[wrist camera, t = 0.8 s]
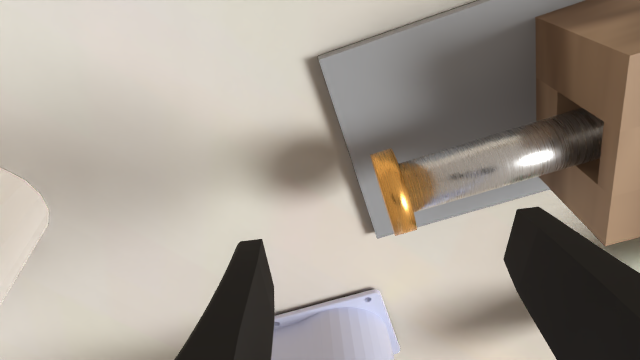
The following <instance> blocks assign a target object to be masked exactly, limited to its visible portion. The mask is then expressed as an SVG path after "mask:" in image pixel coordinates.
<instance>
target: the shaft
mask: <svg viewBox="0 0 640 360" xmlns="http://www.w3.org/2000/svg"><path fill="white" fill-rule="evenodd" d="M603 126H604V122H603V121H602V120H600V119H599V118H597V117H596V116H594V115H593V114H591V113H590V112H588V111H587V110H585V109H584V108H579V109H575V110H572V111H569V112H565V113H562V114H559V115H556V116H552V117H549V118H546V119H543V120H539V121H536V122H533V123H530V124H526V125H523V126H520V127H516V128H513V129H510V130H507V131H503V132H500V133H497V134H494V135H490V136H487V137H484V138H481V139H477V140H474V141H471V142H467V143H464V144H461V145H458V146H454V147H451V148H448V149H445V150H441V151H438V152H435V153H432V154H428V155H425V156H422V157H418V158H415V159H412V160H409V161H405V162H402V163H399V164H398V162H397V159H396V157H395V155H394V152H393V150H392V149H391V148H390V149H387V150H383V151H380V152H377V153H374V154H371V155H370V157H371V161H372V164H373V168H374V171H375V175H376V178H377V181H378V185H379V188H380V191H381V194H382V198H383V201H384V204H385V207H386V210H387V213H388V216H389V219H390V222H391V225H392V228H393V231H394V234H395V236H397V235H400V234H404V233H407V232H411V231H414V230H417V226H416V220H415V216H414V212H417V211H420V210H424V209H427V208H431V207H434V206H438V205H441V204H445V203H448V202H451V201H455V200H458V199H462V198H465V197H469V196H472V195H476V194H479V193H483V192H486V191H489V190H493V189H496V188H500V187H503V186H507V185H510V184H514V183H517V182H520V181H524V180H527V179H531V178H534V177H538V176H541V175H545V174H548V173H552V172H555V171H558V170H562V169H565V168H569V167H572V166H576V165H579V164H583V163H586V162H590V161H593V160H596V159H600V156H601V146H602V136H603Z"/></svg>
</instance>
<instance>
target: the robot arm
mask: <svg viewBox="0 0 640 360" xmlns="http://www.w3.org/2000/svg"><path fill="white" fill-rule="evenodd" d="M504 262H505V264H506V267H507V269H508V272H509V274H510V277H511V279H512V281H513V283H514V286H515V288H516V290H517V292H518V294H519V296H520V298H521V299H522V301H523V303H524V305H525V306H526V308H527V310H528V312H529V313H530V315H531V317H532V318H533V320H534V322H535V323H536V325H537V327H538V329H539V330H540V332H541V334H542V335H543V337H544V339H545V340H546V342H547V344H548V345H549V347H550V349H551V351H552V352H553V354H554V356H555V357H556V359H557V360H640V273H639V272H637V271H635V270H634V269H632V268H631V267H629V266H627V265H626V264H624V263H623V262H621V261H619V260H618V259H616V258H615V257H613V256H612V255H610V254H609V253H607V252H606V251H604V250H603V249H601V248H600V247H598V246H597V245H595V244H594V243H592V242H591V241H589V240H588V239H586V238H585V237H583V236H582V235H580V234H579V233H577V232H576V231H574V230H573V229H571V228H570V227H568V226H567V225H566V224H564V223H563V222H561V221H560V220H558V219H557V218H555V217H554V216H552V215H551V214H549V213H548V212H546V211H544V210H543V209H541V208H540V207H533V208H524V209H517V211H516V215H515V219H514V222H513V226H512V230H511V233H510V237H509V241H508V244H507V248H506V252H505V256H504ZM367 297H368V298H367ZM399 351H400V346H399V343H398V340H397V337H396V335H395V332H394V329H393V326H392V323H391V321H390V318H389V315H388V312H387V310H386V307H385V304H384V301H383V298H382V296H381V293H380V291H379V290H376V289H373V290H369V291H365V292H361V293H358V294H354V295H350V296H347V297H343V298H339V299H335V300H332V301H328V302H324V303H321V304H317V305H313V306H309V307H306V308H302V309H298V310H295V311H291V312H287V313H284V314H280V315H276V316H274V285H273V281H272V277H271V273H270V269H269V265H268V261H267V257H266V253H265V249H264V245H263V241H262V239H258V240H249V241H241V242H240V243H239V244H238V245H237V247H236V249H235V252H234V254H233V256H232V259H231V261H230V263H229V265H228V267H227V270H226V272H225V274H224V276H223V278H222V280H221V282H220V284H219V286H218V288H217V290H216V291H215V293H214V295H213V297H212V299H211V301H210V303H209V305H208V306H207V308H206V310H205V312H204V314H203V315H202V317H201V319H200V320H199V322H198V324H197V325H196V327H195V328H194V330H193V332H192V333H191V335H190V337H189V338H188V340H187V342H186V343H185V345H184V346H183V348H182V349H181V351H180V352H179V354H178V355H177V357H176V358H175V360H395V359H394V355H393V354H397V353H398V352H399Z"/></svg>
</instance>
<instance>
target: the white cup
mask: <svg viewBox="0 0 640 360" xmlns="http://www.w3.org/2000/svg"><path fill="white" fill-rule="evenodd" d="M48 224H49V209H48V207H47V205H46V203H45V201H44V200H43V198H42V196H41V194H40V193H39V192H38V191H36V190H35V189H34V188H33V187H32V186H31V185H30V184H29V183H28V182H27V181H26V180H24V179H22V178H20V177H18V176H16V175H14V174H13V173H11V172H9V171H7V170H5V169H2V168H0V305H1V303H2V302H3V300H4V298H5V297H6V295H7V293H8V292H9V290H10V288H11V287H12V285H13V283H14V281H15V280H16V278H17V276H18V275H19V273H20V271H21V270H22V268H23V266H24V265H25V263H26V261H27V260H28V258H29V256H30V254H31V253H32V251H33V249H34V248H35V246H36V244H37V243H38V241H39V239H40V238H41V236H42V234H43V233H44V231H45V229H46V227H47V226H48Z"/></svg>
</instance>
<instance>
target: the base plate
mask: <svg viewBox="0 0 640 360" xmlns="http://www.w3.org/2000/svg"><path fill="white" fill-rule="evenodd" d="M582 1H585V0H478V1H475V2H472V3H469V4H466V5H464V6H461V7H458V8H455V9H452V10H449V11H446V12H443V13H441V14H438V15H435V16H432V17H429V18H426V19H423V20H420V21H418V22H415V23H412V24H409V25H406V26H403V27H400V28H397V29H394V30H392V31H389V32H386V33H383V34H380V35H377V36H374V37H371V38H369V39H366V40H363V41H360V42H357V43H354V44H351V45H348V46H346V47H343V48H340V49H337V50H334V51H331V52H328V53H325V54H323V55H320V56H318V60H319V63H320V66H321V69H322V72H323V75H324V78H325V81H326V84H327V87H328V90H329V93H330V96H331V99H332V103H333V106H334V109H335V112H336V115H337V118H338V121H339V124H340V127H341V130H342V133H343V136H344V139H345V142H346V145H347V148H348V151H349V154H350V157H351V160H352V164H353V167H354V170H355V173H356V176H357V179H358V182H359V185H360V188H361V191H362V194H363V197H364V200H365V203H366V206H367V209H368V212H369V215H370V218H371V221H372V224H373V228H374V231H375V234H376V237H377V239H378V238H381V237H385V236H388V235H392V234H394V231H393V228H392V225H391V222H390V219H389V216H388V213H387V210H386V207H385V204H384V201H383V198H382V194H381V191H380V188H379V185H378V181H377V178H376V175H375V171H374V168H373V164H372V161H371V157H370V155H371V154H374V153H377V152H380V151H383V150H387V149H390V148H391V149H392V150H393V152H394V155H395V157H396V159H397V162H398V164H399V163H402V162H405V161H409V160H412V159H415V158H418V157H422V156H425V155H428V154H432V153H435V152H438V151H441V150H445V149H448V148H451V147H454V146H458V145H461V144H464V143H467V142H471V141H474V140H477V139H481V138H484V137H487V136H490V135H494V134H497V133H500V132H503V131H507V130H510V129H513V128H516V127H520V126H523V125H526V124H530V123H533V122H536V28H535V17H537V16H540V15H543V14H546V13H549V12H552V11H555V10H558V9H561V8H564V7H567V6H570V5H573V4H576V3H579V2H582ZM546 190H550V188H549V187H548V186H547V185H546V184H545V183H544V182H543V181H542V180H541V179H540V178H539V177H534V178H531V179H527V180H524V181H520V182H517V183H514V184H510V185H507V186H503V187H500V188H496V189H493V190H489V191H486V192H483V193H479V194H476V195H472V196H469V197H465V198H462V199H458V200H455V201H451V202H448V203H445V204H441V205H438V206H434V207H431V208H427V209H424V210H420V211H417V212H414V216H415V220H416V226H417V227H420V226H423V225H427V224H430V223H434V222H437V221H441V220H444V219H448V218H451V217H455V216H458V215H462V214H465V213H469V212H472V211H476V210H479V209H483V208H487V207H490V206H494V205H497V204H501V203H504V202H508V201H511V200H515V199H518V198H522V197H525V196H529V195H532V194H536V193H539V192H543V191H546Z"/></svg>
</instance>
